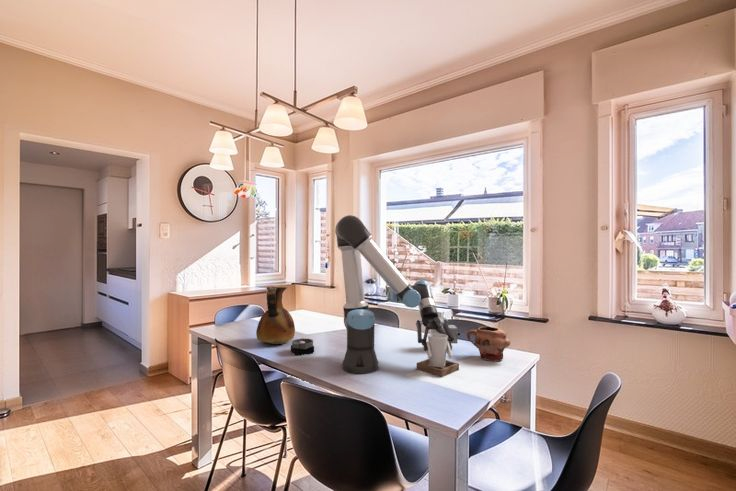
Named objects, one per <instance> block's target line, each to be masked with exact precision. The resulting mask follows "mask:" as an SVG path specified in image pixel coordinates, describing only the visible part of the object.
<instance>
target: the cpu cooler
mask: <svg viewBox="0 0 736 491" xmlns="http://www.w3.org/2000/svg"><path fill="white" fill-rule="evenodd" d="M291 342H292V344H290V352H291V351H292V352H293V353H294V354H295V355H294V354H293V353H292V352H291V353H292V354H293V355H294V356H298V355H299V356H305V355H304V354H307V355H311V353H312V354H314V353H315V346H314V339H313V338H303V337H302V338H297V339H293V340H292V341H291ZM313 352H314V353H313ZM302 354H303V355H302Z"/></svg>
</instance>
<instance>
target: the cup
mask: <svg viewBox="0 0 736 491" xmlns="http://www.w3.org/2000/svg"><path fill="white" fill-rule="evenodd" d="M447 337H448V336H447V335H445V334H439V333H433V334H431V333H428V335H427V340H428V342H429V346H430V350H431V354H432V357H431V359H430V365H431V366H434V367H444V366H445V361H446V360H447V351H446V348H447Z"/></svg>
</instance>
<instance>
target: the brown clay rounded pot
mask: <svg viewBox="0 0 736 491" xmlns="http://www.w3.org/2000/svg"><path fill="white" fill-rule="evenodd" d="M471 335H475V337H474V341H472V339H471ZM507 336H508V335H507V333H506V332H505V331H504V330H502V329H501V328H499V327H493V326H480V327H478V328H477V329H469V330H468V331H467V333H466V337H467V340H468V341H469V342H470V343H471V344H472V345H473V346H475V348H477V349H478V351H479V357H480V358H481V359H482V360H486V361H492V362H501V361H502V360H503V359H504V350H505V349H506V348H508V347H510V345H511V341H510V339H508V337H507Z"/></svg>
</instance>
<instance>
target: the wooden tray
mask: <svg viewBox="0 0 736 491" xmlns="http://www.w3.org/2000/svg"><path fill="white" fill-rule="evenodd" d="M416 370H418V371H421V372H424V373H427V374H430V375H433V376H436V377H439V378H444V377H446V376H448V375H450V374H453V373H455V372H457V371H460V363H459V362H454V361H451V360H447V359H446V361H445V366H444V367H434V366H431V365H430V359H428V358H427V359H424V360H421V361H419V362H416Z"/></svg>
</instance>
